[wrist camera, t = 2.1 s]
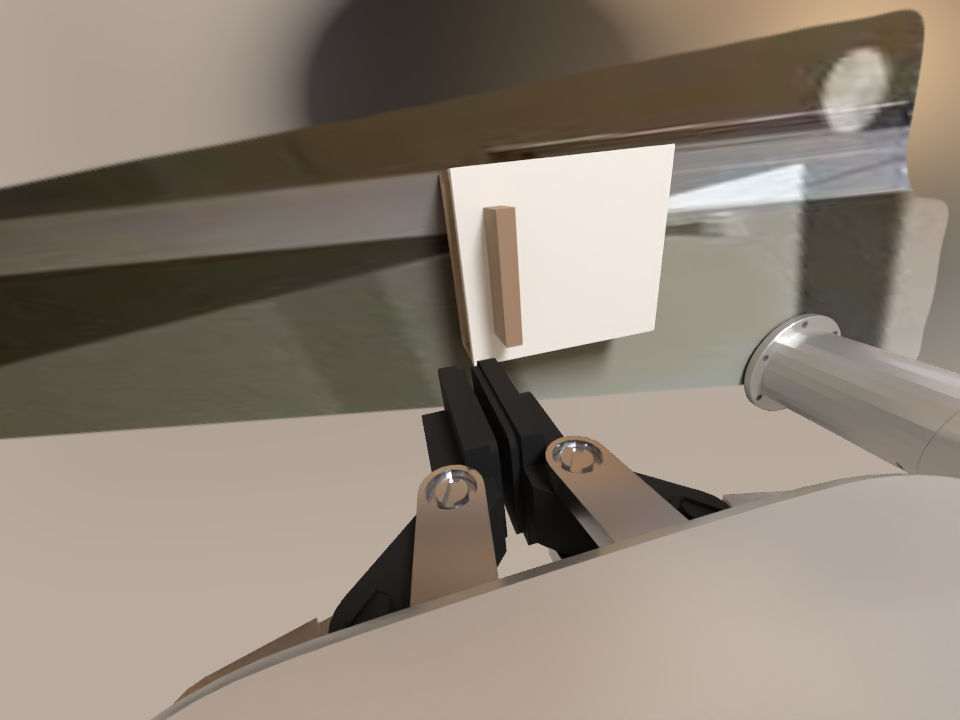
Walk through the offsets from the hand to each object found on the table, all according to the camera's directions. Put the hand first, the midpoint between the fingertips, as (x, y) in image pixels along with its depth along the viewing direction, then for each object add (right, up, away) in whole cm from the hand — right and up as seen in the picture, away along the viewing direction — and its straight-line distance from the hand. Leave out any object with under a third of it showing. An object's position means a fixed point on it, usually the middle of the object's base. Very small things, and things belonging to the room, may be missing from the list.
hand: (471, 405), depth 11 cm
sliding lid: (+7, +9, +17) cm, 20 cm away
